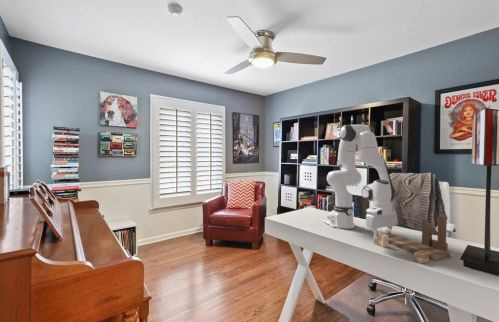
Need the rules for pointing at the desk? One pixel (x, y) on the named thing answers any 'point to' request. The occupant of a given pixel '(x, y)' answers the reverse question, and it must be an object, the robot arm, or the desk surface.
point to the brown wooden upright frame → (435, 233)
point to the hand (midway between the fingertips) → (382, 234)
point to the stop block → (421, 257)
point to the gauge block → (381, 240)
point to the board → (417, 247)
